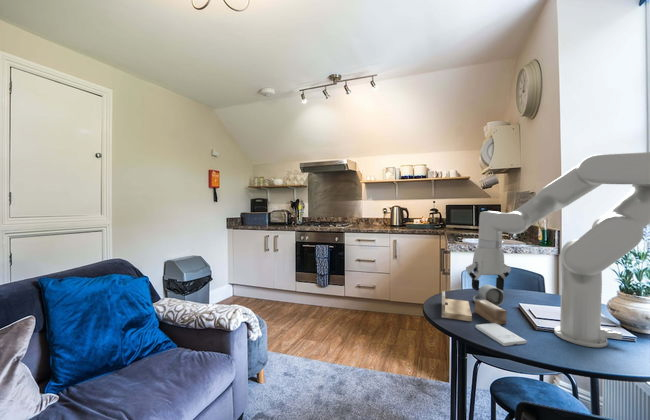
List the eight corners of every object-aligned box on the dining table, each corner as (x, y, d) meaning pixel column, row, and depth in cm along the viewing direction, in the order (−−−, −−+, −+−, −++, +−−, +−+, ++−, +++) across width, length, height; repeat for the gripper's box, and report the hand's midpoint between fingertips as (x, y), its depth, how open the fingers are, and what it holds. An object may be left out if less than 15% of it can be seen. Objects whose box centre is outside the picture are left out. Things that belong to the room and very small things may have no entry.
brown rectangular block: (485, 312, 111) (485, 299, 111) (506, 324, 100) (506, 310, 100) (474, 312, 110) (475, 299, 110) (494, 325, 99) (495, 310, 99)
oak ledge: (468, 305, 117) (468, 294, 117) (471, 321, 102) (471, 308, 102) (441, 302, 121) (442, 291, 121) (441, 317, 106) (441, 304, 106)
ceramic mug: (495, 299, 124) (495, 282, 124) (504, 306, 116) (504, 288, 115) (470, 299, 125) (469, 282, 125) (477, 306, 117) (477, 288, 117)
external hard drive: (496, 327, 99) (527, 345, 87) (475, 329, 97) (503, 347, 85) (496, 322, 99) (527, 339, 86) (475, 324, 97) (503, 342, 85)
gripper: (504, 242, 109) (502, 285, 110) (461, 242, 107) (460, 286, 108) (519, 246, 101) (516, 292, 102) (473, 246, 100) (471, 293, 101)
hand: (487, 289), depth 105 cm, fingers open, 9 cm apart
